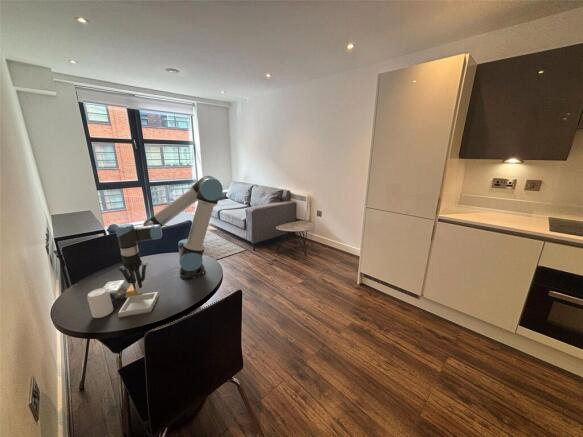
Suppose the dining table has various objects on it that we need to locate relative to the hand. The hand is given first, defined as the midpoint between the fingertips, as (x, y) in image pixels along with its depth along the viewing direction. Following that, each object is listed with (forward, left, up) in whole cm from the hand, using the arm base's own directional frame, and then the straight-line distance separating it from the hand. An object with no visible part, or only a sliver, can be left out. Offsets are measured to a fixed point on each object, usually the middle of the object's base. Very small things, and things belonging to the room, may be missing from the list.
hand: (139, 293), depth 127 cm
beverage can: (+12, +12, -2) cm, 17 cm away
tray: (-3, +10, -2) cm, 11 cm away
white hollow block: (+11, +1, -2) cm, 11 cm away
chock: (+3, -1, -2) cm, 4 cm away
